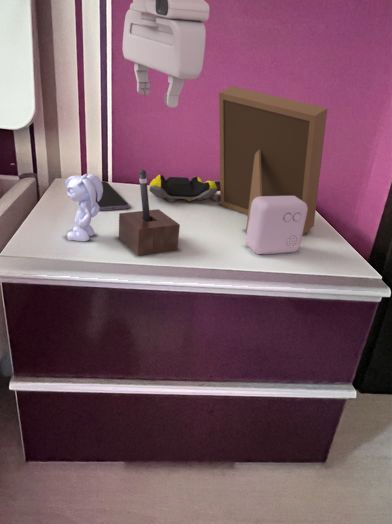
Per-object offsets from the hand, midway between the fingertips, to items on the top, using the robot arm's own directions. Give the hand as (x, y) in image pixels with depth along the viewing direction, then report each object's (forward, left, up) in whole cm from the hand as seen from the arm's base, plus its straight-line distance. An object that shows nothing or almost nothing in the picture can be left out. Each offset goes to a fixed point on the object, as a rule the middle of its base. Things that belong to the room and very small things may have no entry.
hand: (156, 100), depth 91 cm
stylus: (0, 0, -25) cm, 25 cm away
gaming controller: (+19, +21, -25) cm, 38 cm away
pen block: (0, 0, -25) cm, 25 cm away
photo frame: (+27, +4, -25) cm, 37 cm away
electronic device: (+22, -10, -25) cm, 35 cm away
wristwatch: (+30, +18, -24) cm, 43 cm away
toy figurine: (-10, +7, -25) cm, 28 cm away
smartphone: (+2, +26, -25) cm, 36 cm away
